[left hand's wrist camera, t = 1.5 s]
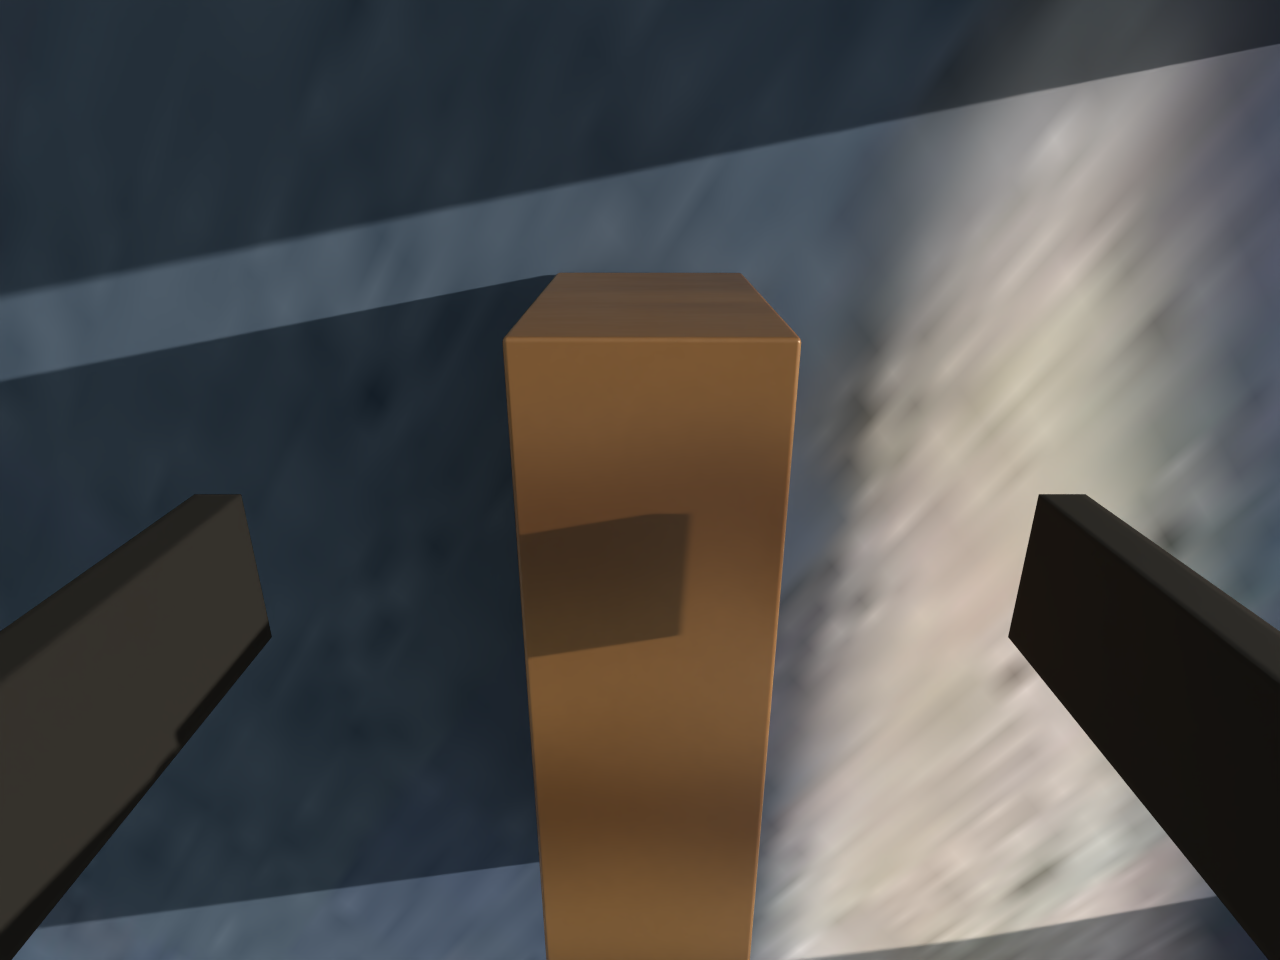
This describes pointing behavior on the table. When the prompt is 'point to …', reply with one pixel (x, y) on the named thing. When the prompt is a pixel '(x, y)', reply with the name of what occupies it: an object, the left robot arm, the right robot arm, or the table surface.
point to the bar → (650, 600)
